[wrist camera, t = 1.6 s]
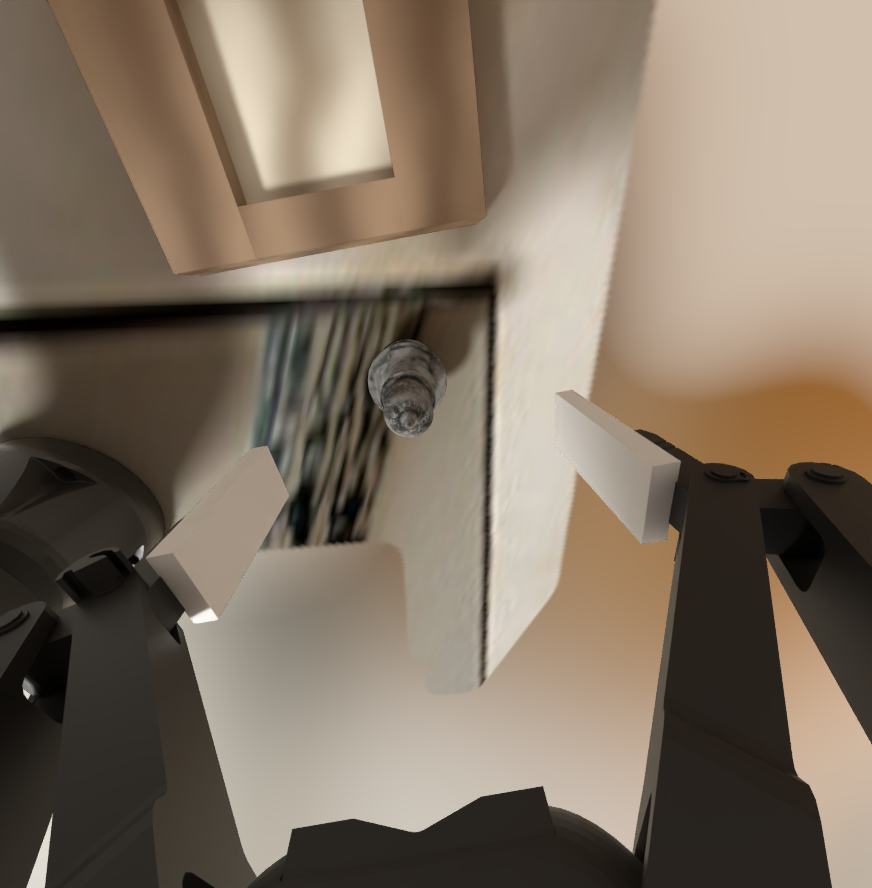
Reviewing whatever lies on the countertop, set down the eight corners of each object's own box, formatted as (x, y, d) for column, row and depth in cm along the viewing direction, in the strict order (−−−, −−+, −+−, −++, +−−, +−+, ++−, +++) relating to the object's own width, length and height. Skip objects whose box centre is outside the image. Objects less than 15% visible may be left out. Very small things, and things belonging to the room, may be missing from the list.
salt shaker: (395, 320, 26) (389, 345, 15) (455, 361, 28) (487, 410, 17) (359, 381, 28) (330, 442, 17) (417, 416, 30) (424, 491, 19)
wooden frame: (201, 275, 24) (174, 274, 21) (64, -45, 17) (-4, -111, 14) (476, 223, 24) (486, 215, 21) (443, -117, 17) (451, -196, 14)
